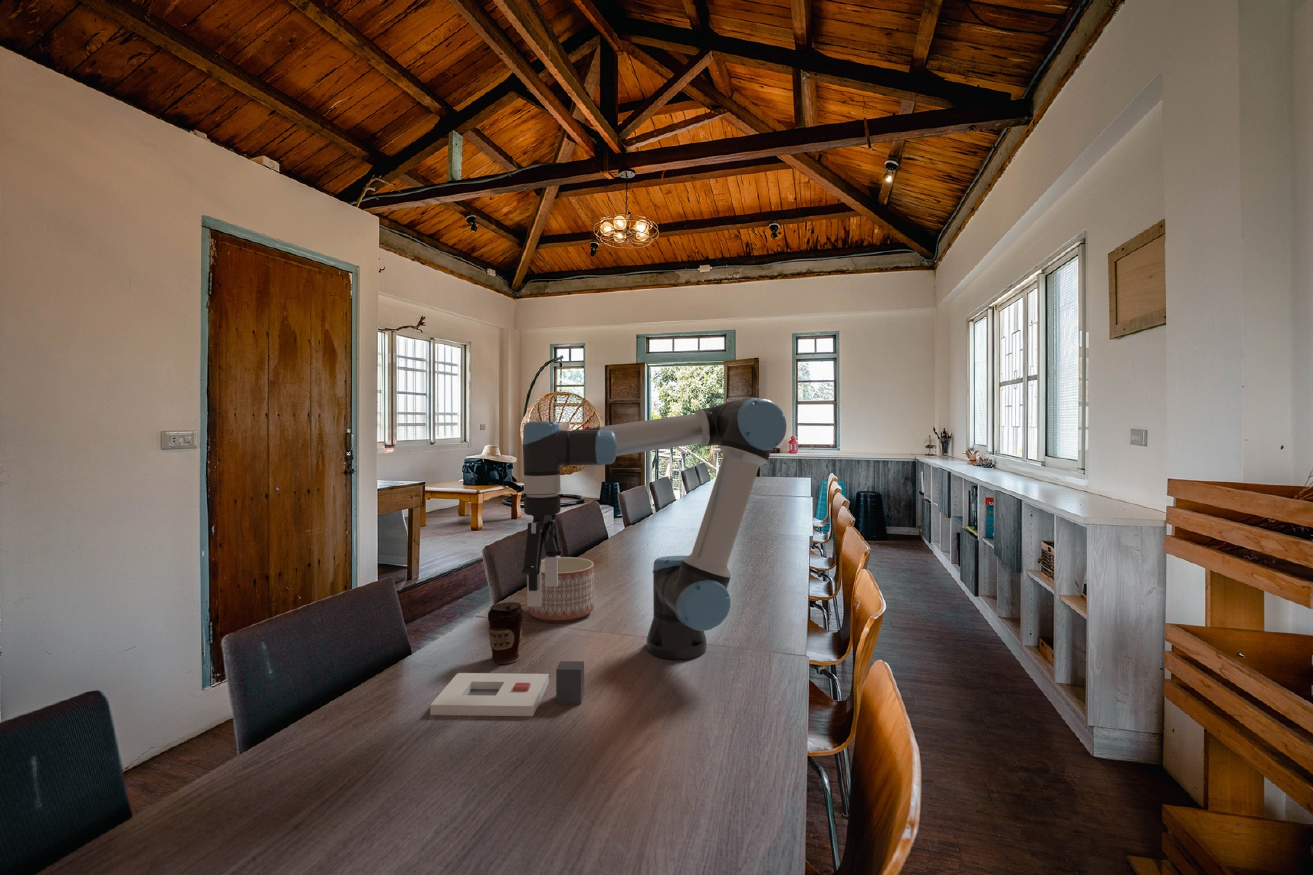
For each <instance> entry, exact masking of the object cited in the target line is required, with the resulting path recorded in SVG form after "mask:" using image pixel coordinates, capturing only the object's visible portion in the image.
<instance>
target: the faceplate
mask: <svg viewBox="0 0 1313 875" xmlns="http://www.w3.org/2000/svg"><path fill="white" fill-rule="evenodd" d="M549 683H550V673H508V672H507V673H504V672H503V673H500V672H499V673H496V672H495V673H489V672H487V673H485V672H484V673H483V672H479V673H477V672H457V673H456V674H455V676H454V677H453V678H452V679H451V680H450V682H449V683H447V685H446V686H445V687H444V688H443V690H442V691H441V692H440V693H439V694H438V696H436V697H435V699H434V700H433V701H432V702H431V703H430V705H429V709H430V710H429V711H430V716H468V717H469V716H478V717H479V716H483V717H486V716H489V717H502V716H503V717H534V715H535V713H536V711H537V709H538V707H539V705H540V703H541V701H542V698H543V697H544V694H545V692H546V690H547V688H548V686H549Z"/></svg>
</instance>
